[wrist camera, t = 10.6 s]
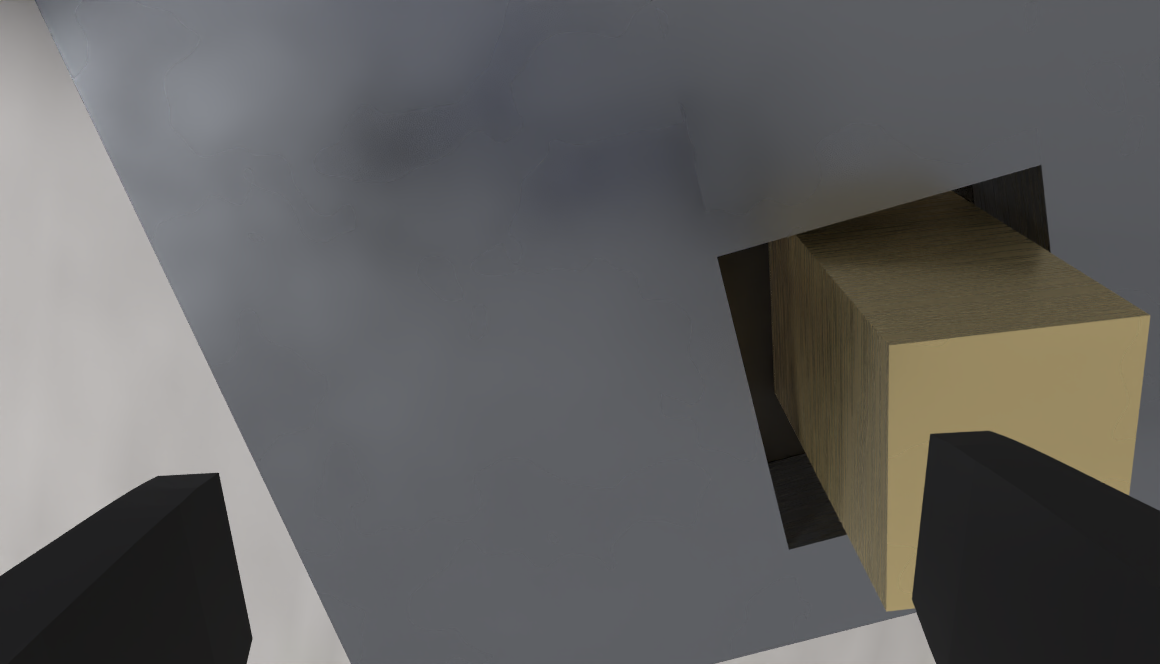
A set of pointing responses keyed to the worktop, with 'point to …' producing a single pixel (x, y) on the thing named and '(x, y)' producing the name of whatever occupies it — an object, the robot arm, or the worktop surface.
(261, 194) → the peg hole base
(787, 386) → the tan wooden block
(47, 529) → the worktop surface
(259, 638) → the worktop surface
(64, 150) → the worktop surface
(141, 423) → the worktop surface
